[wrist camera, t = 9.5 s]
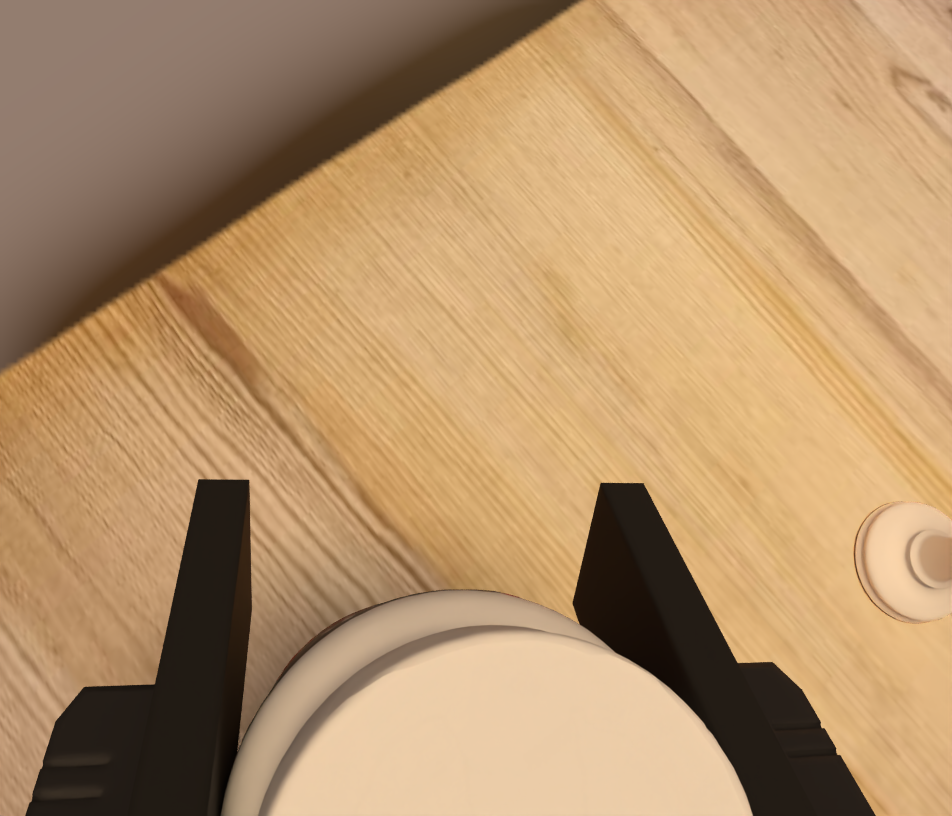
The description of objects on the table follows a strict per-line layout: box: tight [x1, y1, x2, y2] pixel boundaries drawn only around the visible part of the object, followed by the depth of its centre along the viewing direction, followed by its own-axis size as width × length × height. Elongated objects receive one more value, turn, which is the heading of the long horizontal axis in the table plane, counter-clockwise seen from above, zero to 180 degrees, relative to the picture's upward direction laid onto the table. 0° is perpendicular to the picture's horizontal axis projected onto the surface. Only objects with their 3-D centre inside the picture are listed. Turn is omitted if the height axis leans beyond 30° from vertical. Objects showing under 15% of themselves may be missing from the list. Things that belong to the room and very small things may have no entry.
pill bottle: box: [221, 590, 753, 816], centre depth 12 cm, size 6×6×10 cm
